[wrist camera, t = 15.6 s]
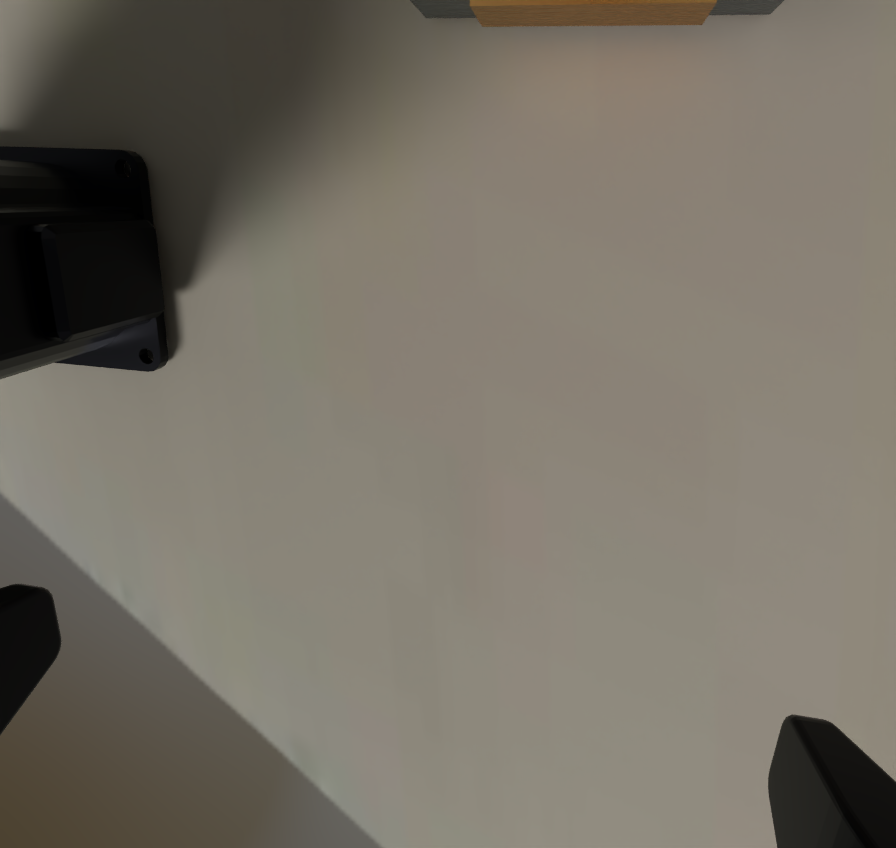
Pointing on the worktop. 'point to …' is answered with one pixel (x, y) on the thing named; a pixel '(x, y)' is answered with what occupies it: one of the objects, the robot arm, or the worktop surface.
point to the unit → (591, 11)
